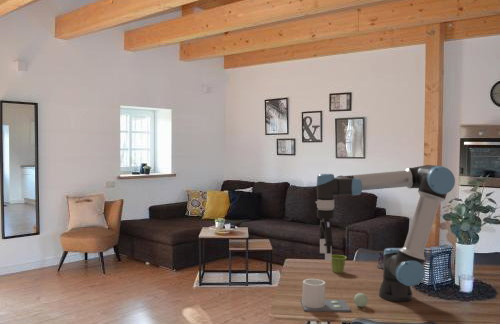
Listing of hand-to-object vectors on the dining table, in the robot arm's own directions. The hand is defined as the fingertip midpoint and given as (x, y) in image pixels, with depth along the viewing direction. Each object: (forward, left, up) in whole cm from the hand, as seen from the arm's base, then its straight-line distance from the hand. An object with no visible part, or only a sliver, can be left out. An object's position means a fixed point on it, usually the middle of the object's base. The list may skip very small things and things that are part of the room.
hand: (325, 256), depth 206 cm
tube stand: (0, 0, -22) cm, 22 cm away
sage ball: (-16, 0, -19) cm, 25 cm away
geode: (-51, -69, -22) cm, 88 cm away
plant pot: (-17, -56, -22) cm, 62 cm away
